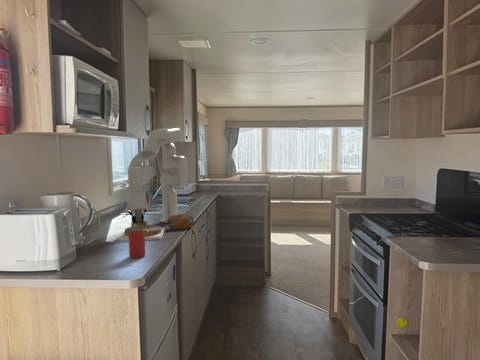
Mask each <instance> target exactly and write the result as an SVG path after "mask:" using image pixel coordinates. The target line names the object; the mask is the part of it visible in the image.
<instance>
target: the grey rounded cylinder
mask: <svg viewBox="0 0 480 360" xmlns="http://www.w3.org/2000/svg"><path fill="white" fill-rule="evenodd" d="M134 215H135V220H136V224H137V223H142V215H141V209H139V210H135V212H134Z"/></svg>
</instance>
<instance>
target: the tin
mask: <svg viewBox="0 0 480 360" xmlns="http://www.w3.org/2000/svg"><path fill="white" fill-rule="evenodd" d="M193 224H194V217H193V216H192V215H191V214H187V213H183V214H178V215H172V216H170V217H169V219H168V223H167V226H168V227H169V228H170V229H171V230H184V229H185V230H186V229H190V228H191V227H192V226H193Z"/></svg>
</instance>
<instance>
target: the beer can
mask: <svg viewBox="0 0 480 360" xmlns="http://www.w3.org/2000/svg"><path fill="white" fill-rule="evenodd" d="M128 251H129V252H128V254H129V255H128V256H129V257H130V258H131V259H141V258H143V257H145V256H146V240H145V233H144V230H143V228H132V229H130V232H129V241H128Z"/></svg>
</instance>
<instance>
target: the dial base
mask: <svg viewBox="0 0 480 360" xmlns="http://www.w3.org/2000/svg"><path fill="white" fill-rule="evenodd" d="M165 232H166V228H165V227H161V232H160V233H158V234H154V235H149V236H145V241H148V240H154V241H156V240H162V238H163V236H164V233H165ZM124 241H125V242H129V236H128V235H125V231H124V232H123V233H122V234H121V235H120V236H119V237H118V242H124Z"/></svg>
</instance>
